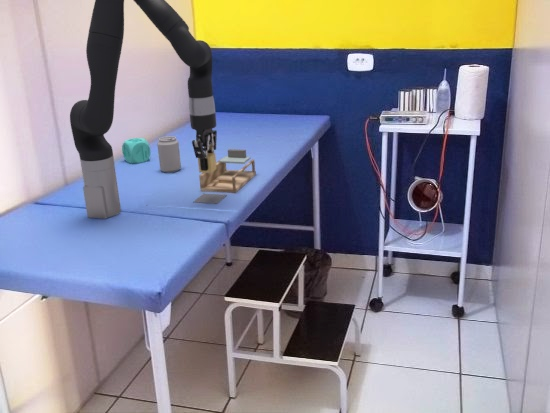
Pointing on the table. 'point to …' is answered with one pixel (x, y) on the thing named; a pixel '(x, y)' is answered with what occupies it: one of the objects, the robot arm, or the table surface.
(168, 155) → the can
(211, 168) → the block
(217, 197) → the mat
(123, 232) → the table surface
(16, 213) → the table surface
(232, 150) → the lid
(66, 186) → the table surface
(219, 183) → the wooden rack
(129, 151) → the decorative dice
